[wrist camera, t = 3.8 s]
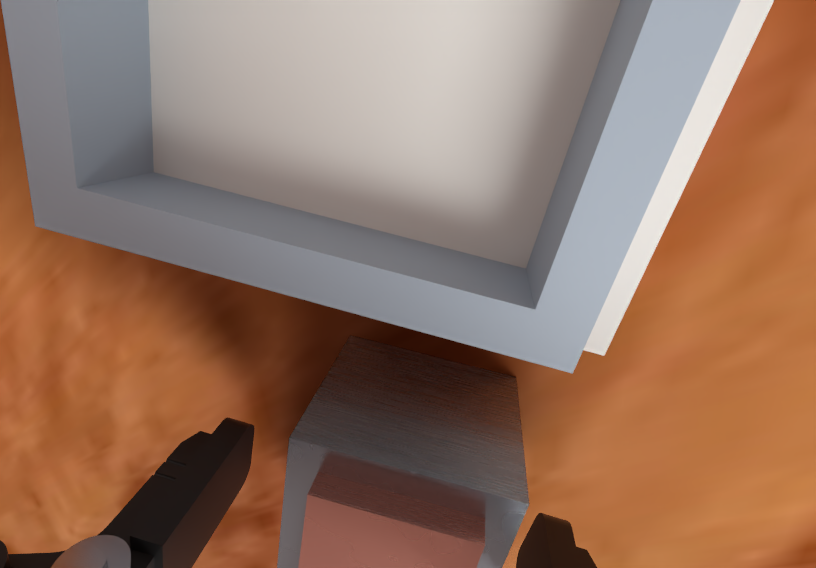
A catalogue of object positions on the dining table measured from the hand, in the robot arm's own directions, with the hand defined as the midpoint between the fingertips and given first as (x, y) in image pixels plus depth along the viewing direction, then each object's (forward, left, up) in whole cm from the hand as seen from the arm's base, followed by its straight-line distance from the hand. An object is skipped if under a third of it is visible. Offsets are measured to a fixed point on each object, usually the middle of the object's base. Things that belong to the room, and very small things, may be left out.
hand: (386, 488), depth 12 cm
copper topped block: (0, +1, -3) cm, 3 cm away
